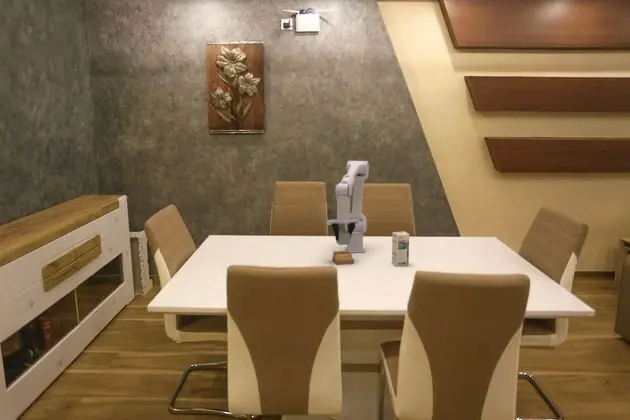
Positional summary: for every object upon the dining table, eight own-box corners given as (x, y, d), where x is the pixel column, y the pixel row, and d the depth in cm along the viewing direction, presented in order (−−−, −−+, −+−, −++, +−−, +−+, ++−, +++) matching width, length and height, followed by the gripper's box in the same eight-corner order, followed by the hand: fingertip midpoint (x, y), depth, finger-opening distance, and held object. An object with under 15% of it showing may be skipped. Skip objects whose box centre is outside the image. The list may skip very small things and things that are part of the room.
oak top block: (332, 256, 247) (333, 251, 247) (347, 255, 249) (347, 250, 248) (336, 260, 240) (336, 255, 240) (352, 259, 242) (352, 254, 241)
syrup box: (396, 266, 239) (397, 234, 236) (391, 263, 244) (392, 231, 242) (408, 265, 240) (409, 233, 238) (403, 262, 246) (404, 230, 243)
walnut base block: (332, 261, 248) (332, 256, 248) (349, 260, 250) (349, 255, 250) (336, 266, 241) (336, 260, 240) (354, 265, 242) (354, 259, 242)
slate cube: (336, 242, 246) (336, 231, 245) (346, 241, 247) (347, 231, 246) (339, 245, 241) (339, 234, 240) (350, 244, 242) (350, 233, 241)
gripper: (330, 212, 236) (329, 242, 238) (361, 211, 239) (361, 241, 241) (326, 209, 243) (325, 239, 245) (356, 208, 246) (356, 237, 248)
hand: (343, 240), depth 244 cm, fingers closed on slate cube, 5 cm apart
